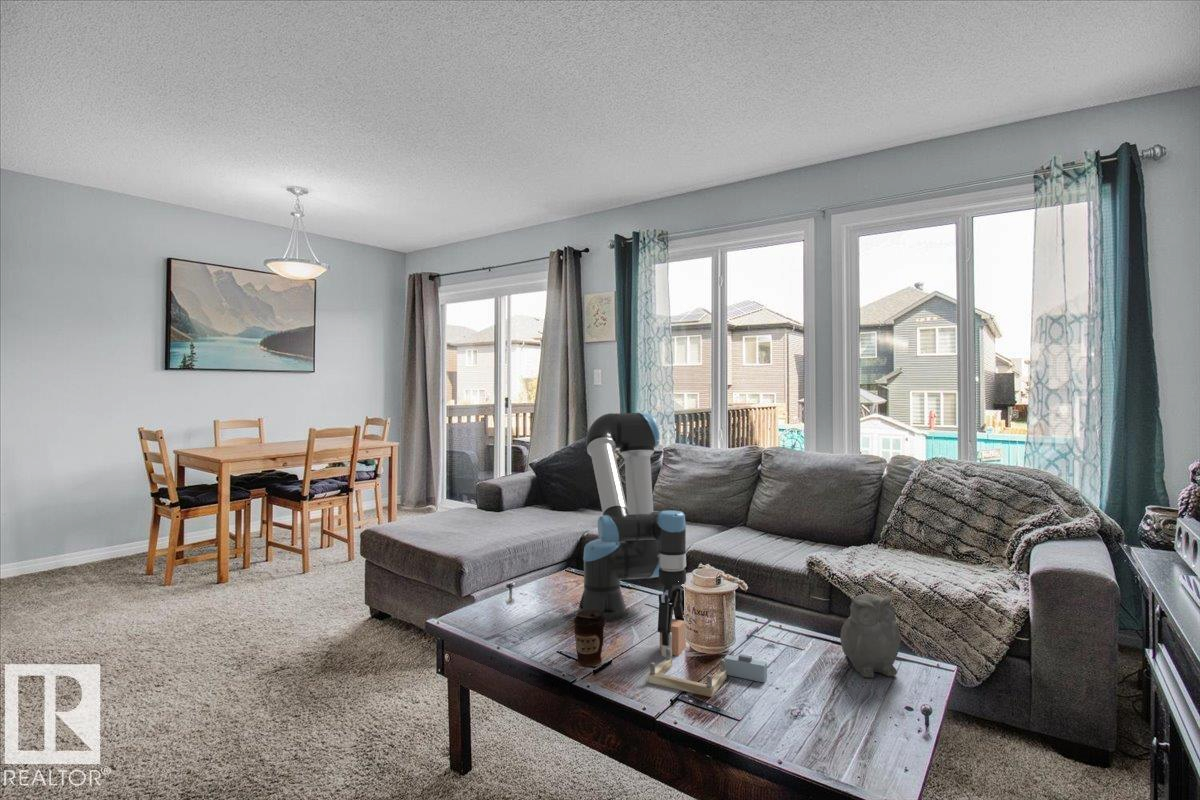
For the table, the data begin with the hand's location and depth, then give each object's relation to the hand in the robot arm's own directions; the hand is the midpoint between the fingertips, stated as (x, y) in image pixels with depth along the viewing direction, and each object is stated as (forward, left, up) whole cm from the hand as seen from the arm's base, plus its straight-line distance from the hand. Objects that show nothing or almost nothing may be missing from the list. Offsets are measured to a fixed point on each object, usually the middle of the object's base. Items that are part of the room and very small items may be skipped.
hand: (673, 650), depth 167 cm
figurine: (-14, +48, 0) cm, 50 cm away
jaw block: (0, 0, 0) cm, 0 cm away
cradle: (+15, +10, 0) cm, 18 cm away
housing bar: (+6, +22, 0) cm, 23 cm away
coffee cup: (+17, -17, 0) cm, 24 cm away
